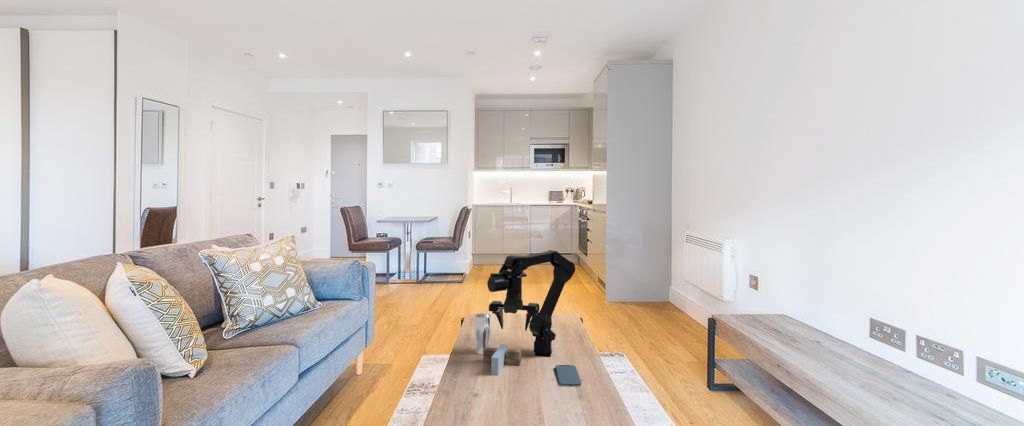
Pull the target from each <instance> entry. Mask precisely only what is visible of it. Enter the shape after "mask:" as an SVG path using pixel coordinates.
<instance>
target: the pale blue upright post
mask: <svg viewBox="0 0 1024 426" xmlns="http://www.w3.org/2000/svg"><path fill="white" fill-rule="evenodd" d="M497 348H498V349H497V350H496V352H495V353H494V355H493V356H492V358H491V363H490V364H491V366H490V367H491V373H490V375H495V376H499V374H500V373H501V371H502V370H503V368H504V367H505V364H504V358H505V356H506V351H507V350H508V344H502V343H500V345H499V346H498V347H497Z"/></svg>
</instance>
